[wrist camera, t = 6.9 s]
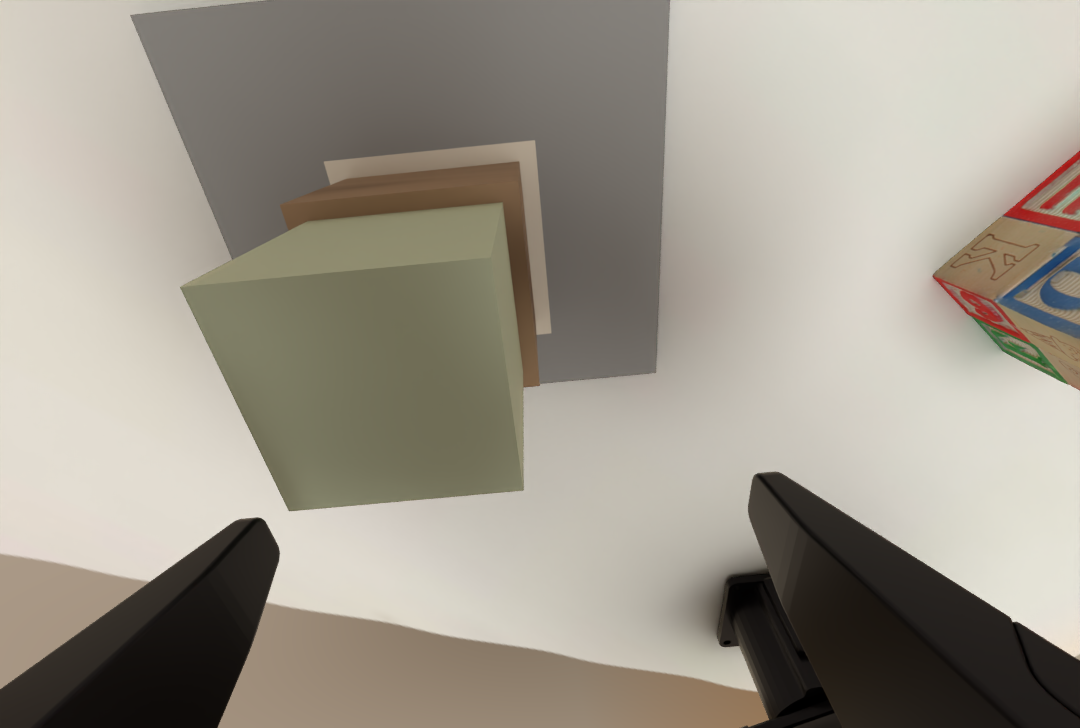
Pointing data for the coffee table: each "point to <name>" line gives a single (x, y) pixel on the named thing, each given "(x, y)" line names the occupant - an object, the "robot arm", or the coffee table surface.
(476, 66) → the mat
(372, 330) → the sage cube
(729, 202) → the coffee table surface
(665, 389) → the coffee table surface
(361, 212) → the walnut base
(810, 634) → the robot arm
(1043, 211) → the stack of blocks
